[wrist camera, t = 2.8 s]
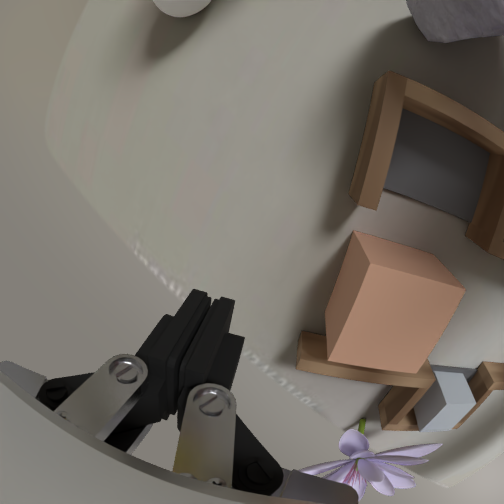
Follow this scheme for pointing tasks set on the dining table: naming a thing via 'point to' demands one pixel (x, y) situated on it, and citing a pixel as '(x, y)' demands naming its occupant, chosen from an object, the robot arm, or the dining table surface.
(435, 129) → the mats
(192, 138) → the dining table surface
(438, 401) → the grey block
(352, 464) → the water lily
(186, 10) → the egg
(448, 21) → the stone block
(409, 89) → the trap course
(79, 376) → the robot arm
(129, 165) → the dining table surface
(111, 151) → the dining table surface
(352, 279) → the terracotta block
